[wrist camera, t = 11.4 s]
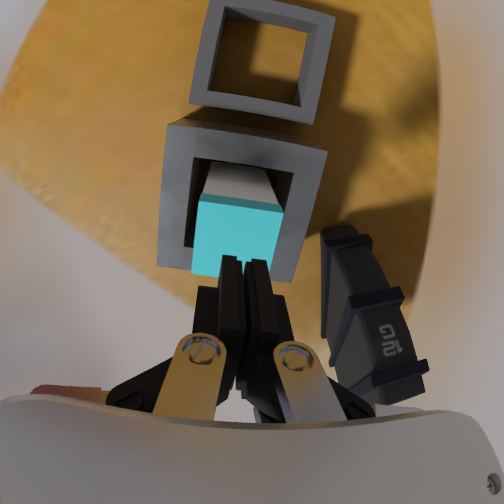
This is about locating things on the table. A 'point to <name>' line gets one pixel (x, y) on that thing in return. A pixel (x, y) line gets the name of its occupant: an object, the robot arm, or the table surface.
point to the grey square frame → (276, 13)
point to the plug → (235, 218)
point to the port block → (244, 152)
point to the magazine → (365, 322)
